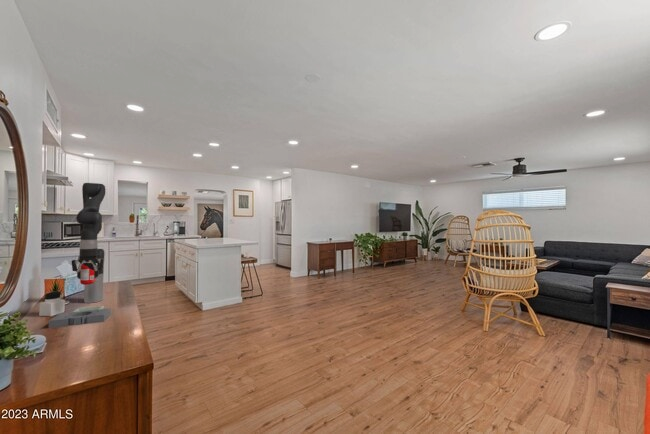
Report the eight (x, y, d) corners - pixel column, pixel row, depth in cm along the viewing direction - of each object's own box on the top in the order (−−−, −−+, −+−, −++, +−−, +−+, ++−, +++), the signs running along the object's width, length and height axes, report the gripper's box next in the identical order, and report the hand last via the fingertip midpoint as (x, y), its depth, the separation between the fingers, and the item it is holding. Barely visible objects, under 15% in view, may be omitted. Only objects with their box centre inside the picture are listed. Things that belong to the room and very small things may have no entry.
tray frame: (77, 311, 153) (77, 308, 153) (104, 309, 158) (104, 305, 158) (68, 318, 142) (68, 314, 142) (97, 315, 147) (97, 311, 147)
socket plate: (48, 328, 129) (48, 320, 129) (60, 320, 140) (60, 313, 140) (103, 321, 138) (104, 314, 138) (110, 314, 149) (110, 308, 149)
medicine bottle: (64, 312, 152) (65, 290, 153) (50, 316, 145) (51, 294, 146) (53, 311, 153) (54, 290, 153) (38, 316, 146) (39, 293, 146)
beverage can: (98, 282, 152) (98, 261, 153) (85, 285, 146) (86, 262, 147) (89, 282, 154) (90, 260, 154) (77, 284, 148) (77, 262, 148)
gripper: (106, 246, 157) (106, 275, 157) (74, 247, 151) (73, 278, 151) (102, 247, 150) (102, 278, 150) (68, 248, 144) (68, 280, 144)
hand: (87, 278), depth 150 cm, fingers closed on beverage can, 6 cm apart
